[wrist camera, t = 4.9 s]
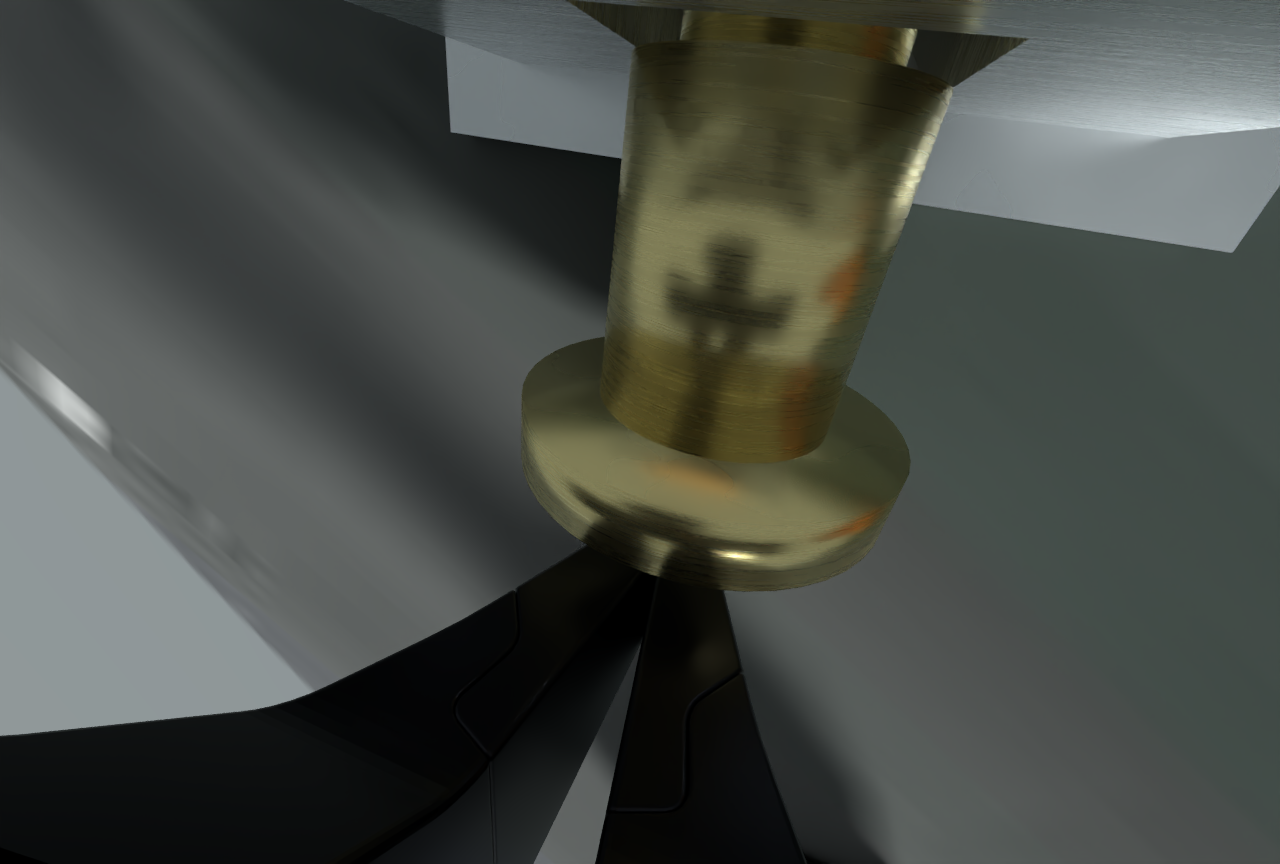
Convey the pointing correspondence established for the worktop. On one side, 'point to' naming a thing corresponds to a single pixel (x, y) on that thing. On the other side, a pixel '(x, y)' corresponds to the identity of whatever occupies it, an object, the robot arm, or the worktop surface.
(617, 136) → the hitch block
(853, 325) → the pin
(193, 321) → the worktop surface
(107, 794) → the robot arm
